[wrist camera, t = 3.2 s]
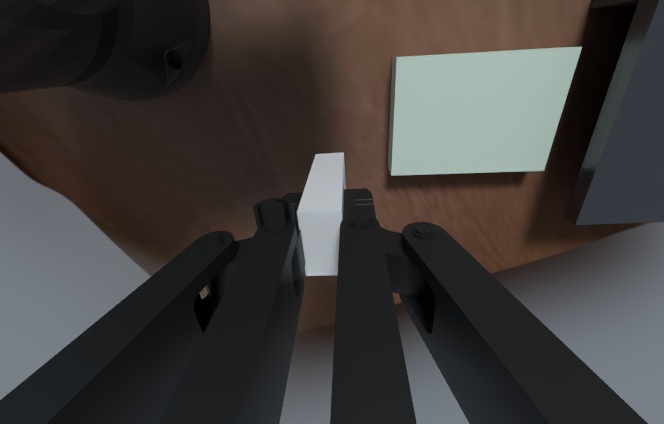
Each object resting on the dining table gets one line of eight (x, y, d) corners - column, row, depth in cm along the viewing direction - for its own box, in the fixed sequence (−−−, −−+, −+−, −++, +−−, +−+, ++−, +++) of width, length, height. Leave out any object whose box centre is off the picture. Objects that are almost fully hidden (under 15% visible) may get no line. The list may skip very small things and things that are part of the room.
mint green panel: (387, 165, 30) (391, 175, 28) (391, 57, 26) (396, 57, 23) (526, 160, 30) (544, 170, 27) (557, 47, 25) (582, 46, 22)
